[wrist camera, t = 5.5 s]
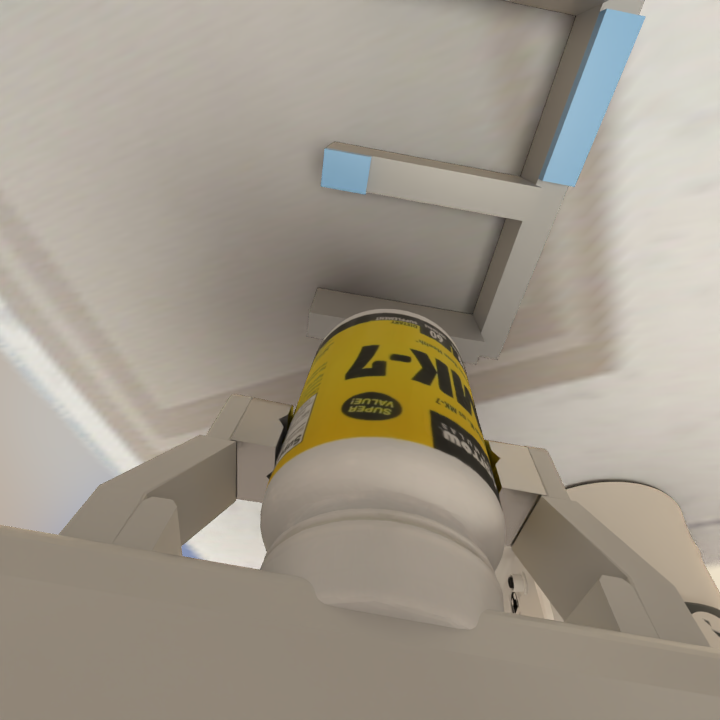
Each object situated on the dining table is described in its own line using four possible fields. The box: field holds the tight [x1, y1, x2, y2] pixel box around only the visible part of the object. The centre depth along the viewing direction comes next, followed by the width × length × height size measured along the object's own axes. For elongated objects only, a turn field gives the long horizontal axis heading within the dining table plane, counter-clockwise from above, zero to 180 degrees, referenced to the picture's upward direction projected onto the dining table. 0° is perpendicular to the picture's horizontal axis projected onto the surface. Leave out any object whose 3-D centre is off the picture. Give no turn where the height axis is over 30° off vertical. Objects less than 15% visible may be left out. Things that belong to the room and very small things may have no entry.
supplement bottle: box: [260, 309, 505, 630], centre depth 9 cm, size 5×5×8 cm
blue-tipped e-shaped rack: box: [306, 0, 645, 365], centre depth 19 cm, size 18×11×4 cm, turn 171°
